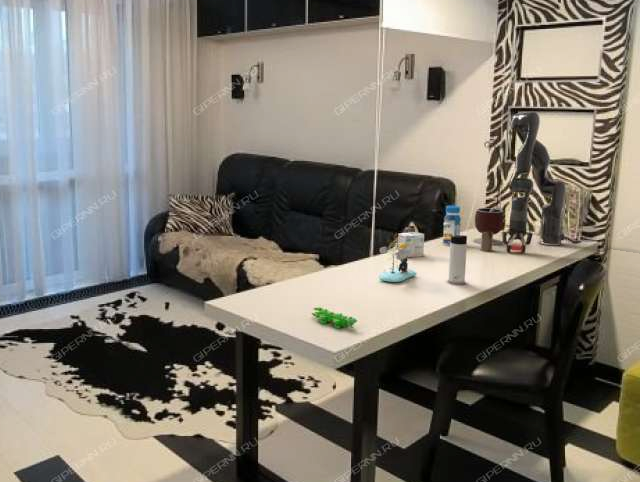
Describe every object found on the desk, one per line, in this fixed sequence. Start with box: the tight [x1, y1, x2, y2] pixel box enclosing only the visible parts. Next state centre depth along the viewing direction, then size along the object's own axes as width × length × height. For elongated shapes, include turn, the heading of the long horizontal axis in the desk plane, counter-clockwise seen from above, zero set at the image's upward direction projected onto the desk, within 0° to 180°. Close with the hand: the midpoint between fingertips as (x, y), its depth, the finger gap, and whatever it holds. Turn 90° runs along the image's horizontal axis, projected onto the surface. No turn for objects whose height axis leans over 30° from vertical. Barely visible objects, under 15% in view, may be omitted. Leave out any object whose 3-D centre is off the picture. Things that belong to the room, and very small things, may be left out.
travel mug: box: [448, 234, 468, 286], centre depth 246 cm, size 6×7×20 cm
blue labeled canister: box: [442, 205, 462, 247], centre depth 313 cm, size 8×8×20 cm
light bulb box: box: [397, 231, 425, 258], centre depth 291 cm, size 11×7×11 cm, turn 108°
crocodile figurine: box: [311, 306, 358, 329], centre depth 202 cm, size 7×18×4 cm, turn 44°
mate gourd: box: [474, 206, 504, 246], centre depth 317 cm, size 16×14×20 cm
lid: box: [511, 243, 523, 251], centre depth 296 cm, size 6×6×2 cm
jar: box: [480, 231, 494, 252], centre depth 301 cm, size 5×5×9 cm
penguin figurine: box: [378, 243, 417, 283], centre depth 253 cm, size 20×11×15 cm, turn 133°
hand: (515, 252), depth 296 cm, fingers closed on lid, 5 cm apart
